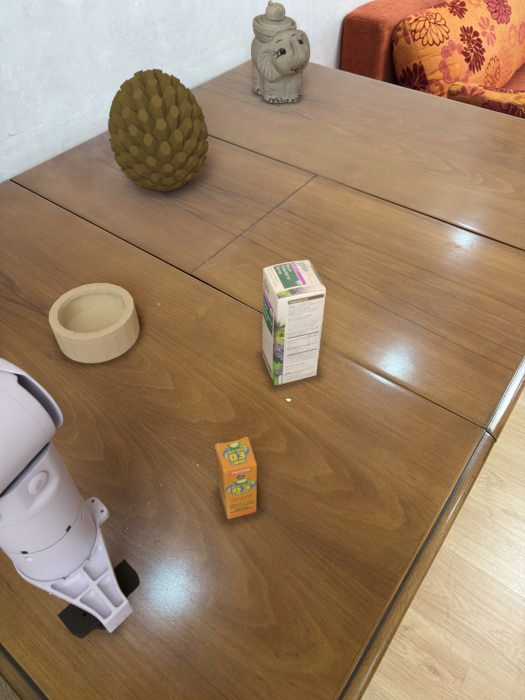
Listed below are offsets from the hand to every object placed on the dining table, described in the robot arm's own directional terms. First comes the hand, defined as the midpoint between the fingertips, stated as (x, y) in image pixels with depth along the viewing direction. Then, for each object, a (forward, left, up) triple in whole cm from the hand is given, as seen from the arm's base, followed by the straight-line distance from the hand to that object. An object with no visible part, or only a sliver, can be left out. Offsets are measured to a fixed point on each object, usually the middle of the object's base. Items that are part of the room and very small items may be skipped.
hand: (87, 586), depth 45 cm
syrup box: (+5, +34, -5) cm, 35 cm away
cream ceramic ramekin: (-21, +30, -5) cm, 36 cm away
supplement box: (+7, +14, -5) cm, 17 cm away
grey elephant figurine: (-27, +112, -5) cm, 115 cm away
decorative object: (-32, +67, -5) cm, 74 cm away
